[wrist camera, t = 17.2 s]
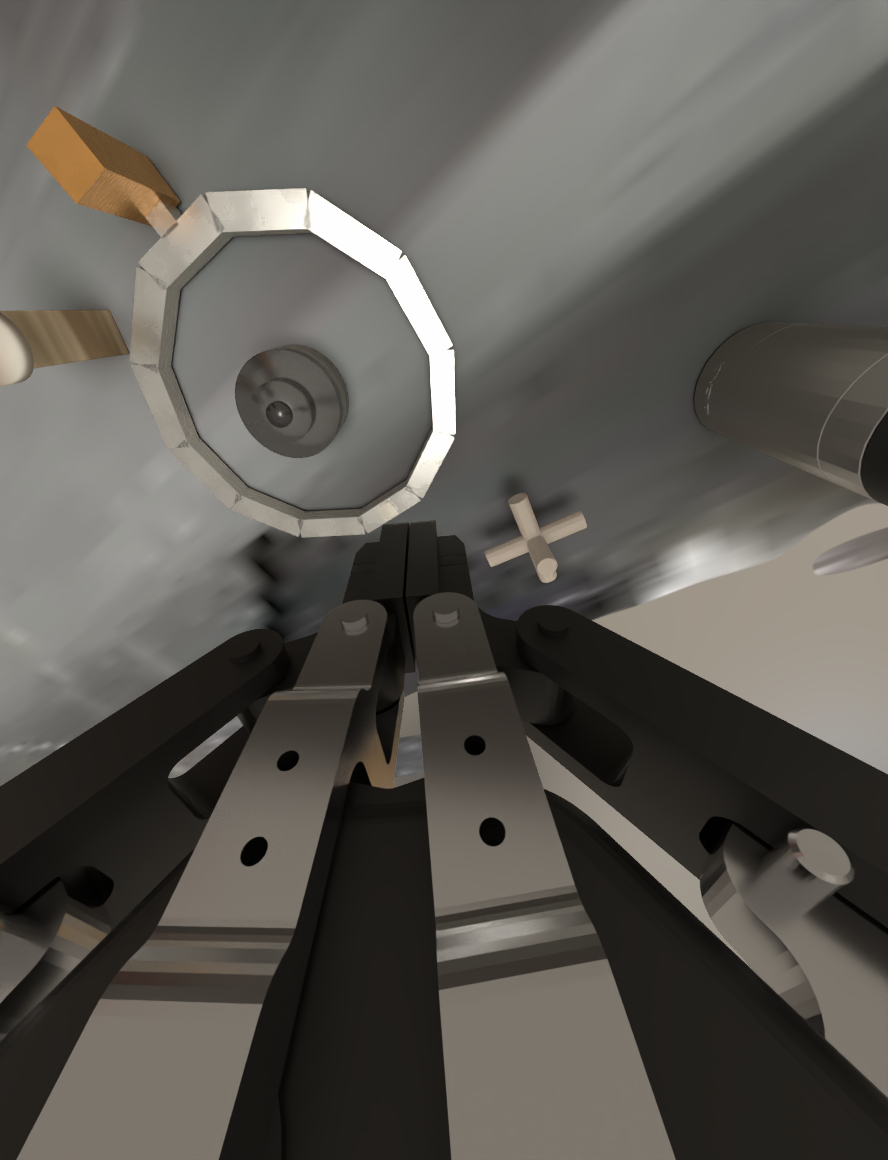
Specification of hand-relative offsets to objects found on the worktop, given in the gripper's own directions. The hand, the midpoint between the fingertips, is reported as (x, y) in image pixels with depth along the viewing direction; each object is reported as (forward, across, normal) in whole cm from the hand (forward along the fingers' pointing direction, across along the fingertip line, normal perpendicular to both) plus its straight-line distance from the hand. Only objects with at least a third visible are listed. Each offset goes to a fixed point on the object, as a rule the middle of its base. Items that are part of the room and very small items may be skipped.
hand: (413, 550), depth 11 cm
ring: (+29, +11, -2) cm, 31 cm away
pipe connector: (+29, -10, +14) cm, 34 cm away
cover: (+29, +11, 0) cm, 31 cm away
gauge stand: (+29, +26, -6) cm, 39 cm away
